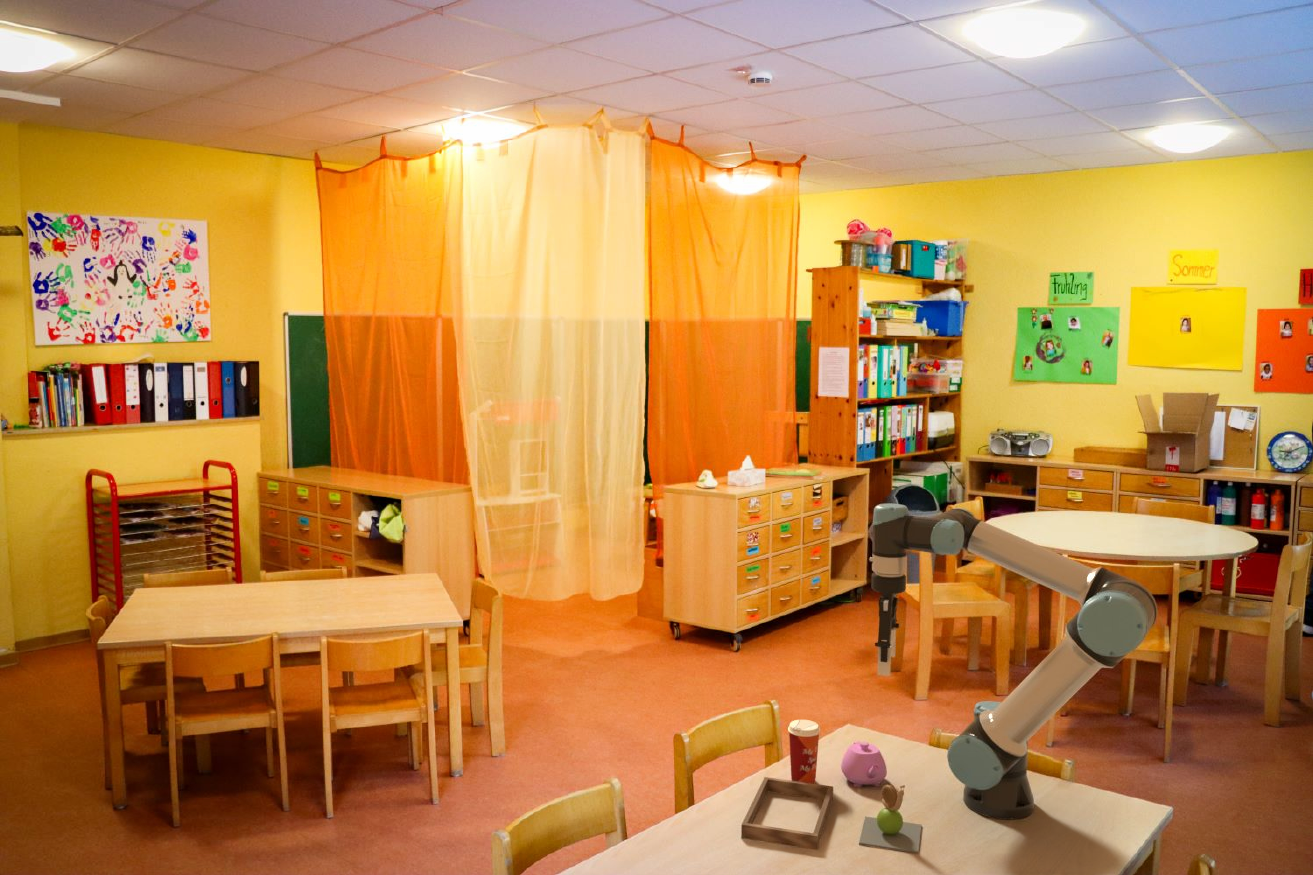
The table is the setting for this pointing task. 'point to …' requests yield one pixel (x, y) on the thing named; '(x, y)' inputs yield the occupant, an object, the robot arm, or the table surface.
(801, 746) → the paper cup
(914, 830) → the slate mat
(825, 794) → the brown wooden frame
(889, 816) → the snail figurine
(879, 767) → the pink rounded piece
